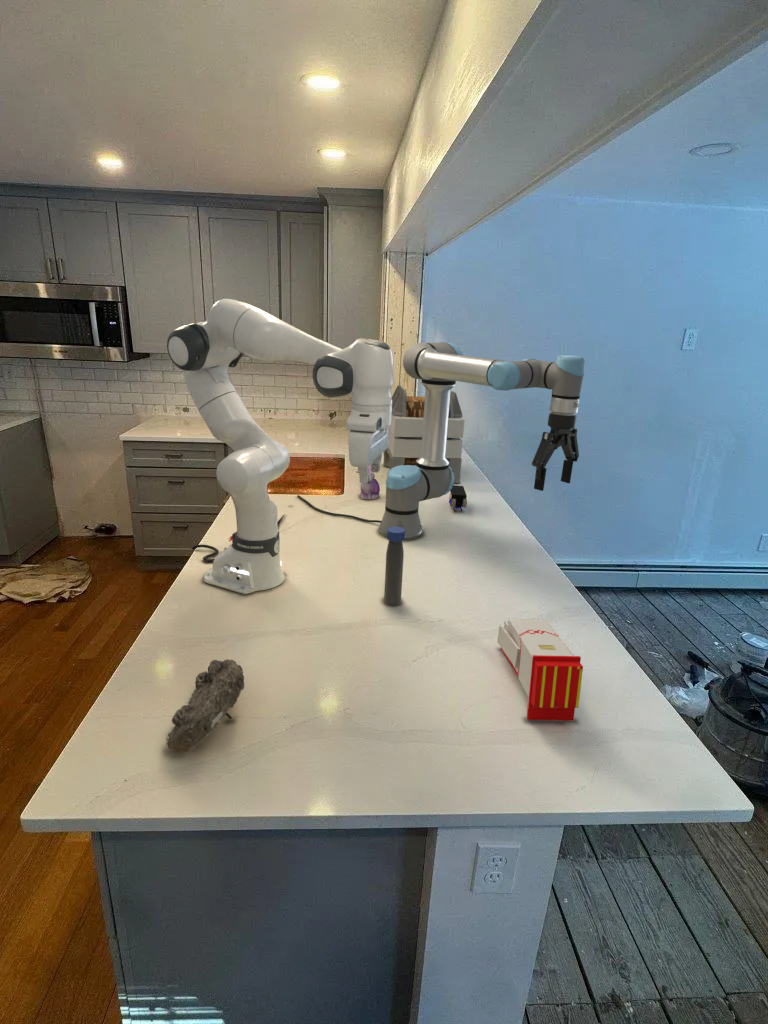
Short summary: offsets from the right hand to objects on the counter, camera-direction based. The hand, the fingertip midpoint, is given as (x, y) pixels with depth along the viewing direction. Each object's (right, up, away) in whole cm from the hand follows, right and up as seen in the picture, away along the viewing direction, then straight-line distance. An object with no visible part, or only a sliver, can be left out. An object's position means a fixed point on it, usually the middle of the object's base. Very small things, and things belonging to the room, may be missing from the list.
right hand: (552, 485), depth 166 cm
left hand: (-52, 0, -37) cm, 64 cm away
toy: (-17, -44, -42) cm, 63 cm away
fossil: (-82, -47, -57) cm, 110 cm away
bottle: (-47, -32, -12) cm, 58 cm away
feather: (-87, -10, +44) cm, 97 cm away
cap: (-46, -12, -19) cm, 51 cm away
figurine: (-55, -1, +72) cm, 91 cm away
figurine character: (-20, -6, +64) cm, 67 cm away
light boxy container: (-32, +11, +109) cm, 115 cm away
